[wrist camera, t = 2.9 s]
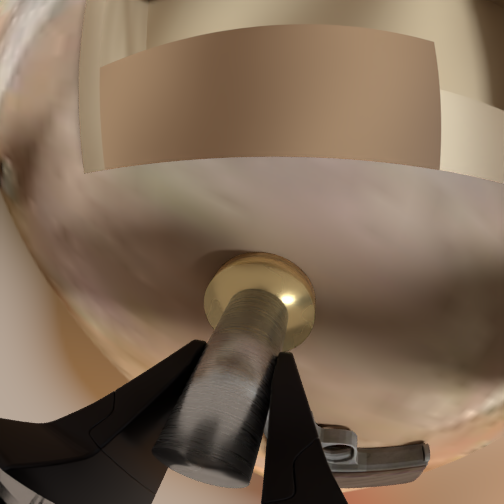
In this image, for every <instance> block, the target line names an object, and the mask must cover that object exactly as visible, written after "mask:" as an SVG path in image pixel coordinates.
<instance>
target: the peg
mask: <svg viewBox="0 0 504 504" xmlns="http://www.w3.org/2000/svg"><path fill="white" fill-rule="evenodd" d="M315 300H316V299H315V292H314V289H313V286H312V284H311V282H310V280H309V278H308V277H307V275H306V274H305V273H304V272H303V271H302V270H301V269H300V268H299V267H298V266H297V265H295V264H294V263H292V262H291V261H289V260H287V259H285V258H283V257H281V256H278V255H275V254H271V253H264V252H251V253H245V254H241V255H238V256H236V257H234V258H232V259H230V260H228V261H227V262H226V263H225V264H223V266H222V267H221V268H220V269H219V270H218V272H217V273H216V275H215V276H214V278H213V279H212V280H211V282H210V283H209V285H208V287H207V289H206V292H205V296H204V309H205V313H206V316H207V319H208V321H209V323H210V325H211V326H212V328H213V329H214V332H213V334H212V336H211V338H210V340H209V341H208V343H207V345H206V347H205V349H204V351H203V353H202V355H201V357H200V359H199V361H198V363H197V364H196V366H195V368H194V370H193V372H192V374H191V376H190V378H189V380H188V382H187V384H186V386H185V387H184V389H183V391H182V393H181V395H180V397H179V399H178V401H177V403H176V405H175V407H174V408H173V410H172V412H171V414H170V416H169V418H168V420H167V422H166V424H165V426H164V428H163V429H162V431H161V433H160V435H159V437H158V439H157V441H156V443H155V445H154V447H153V449H152V454H153V455H154V457H155V458H156V459H157V460H159V461H160V462H161V463H162V464H164V465H165V466H167V467H169V468H170V469H172V470H174V471H176V472H178V473H180V474H182V475H184V476H186V477H189V478H192V479H194V480H197V481H200V482H203V483H207V484H210V485H215V486H220V487H226V488H244V487H247V486H248V485H249V483H250V480H251V476H252V473H253V469H254V466H255V462H256V458H257V455H258V451H259V447H260V443H261V440H262V436H263V432H264V428H265V424H266V420H267V416H268V411H269V406H270V391H271V381H272V376H273V373H274V369H275V366H276V362H277V358H278V354H279V352H286V351H289V350H291V349H293V348H295V347H297V346H298V345H300V344H301V343H302V342H303V341H304V340H305V339H306V338H307V337H308V336H309V334H310V332H311V330H312V328H313V325H314V320H315Z"/></svg>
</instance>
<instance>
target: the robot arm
mask: <svg viewBox="0 0 504 504" xmlns="http://www.w3.org/2000/svg"><path fill="white" fill-rule="evenodd" d="M206 345H207V343H206V342H205V341H201V340H193V341H191V342H190V343H188V344H187V345H185V346H184V347H182V348H181V349H179V350H178V351H176V352H175V353H173V354H172V355H170V356H169V357H167V358H166V359H164V360H163V361H161V362H159V363H158V364H156V365H155V366H153V367H152V368H150V369H149V370H147V371H145V372H144V373H142V374H141V375H139V376H138V377H136V378H134V379H133V380H131V381H130V382H128V383H126V384H125V385H123V386H122V387H120V388H118V389H117V390H116V391H113V392H112V393H110V394H108V395H107V396H105V397H103V398H102V399H100V400H98V401H96V402H95V403H93V404H91V405H89V406H87V407H84V408H82V409H80V410H78V411H76V412H74V413H71V414H69V415H67V416H65V417H62V418H60V419H58V420H55V421H52V422H48V423H29V422H21V421H15V420H9V419H2V418H0V504H151V503H152V501H153V499H154V497H155V494H156V493H157V490H158V488H159V486H160V484H161V482H162V480H163V478H164V475H165V473H166V471H167V469H168V467H167V466H165V465H164V464H162V463H161V462H160V461H159V460H157V459H156V458H155V457H154V455H153V454H152V449H153V447H154V445H155V443H156V441H157V439H158V437H159V435H160V433H161V431H162V429H163V428H164V426H165V424H166V422H167V420H168V418H169V416H170V414H171V412H172V410H173V408H174V407H175V405H176V403H177V401H178V399H179V397H180V395H181V393H182V391H183V389H184V387H185V386H186V384H187V382H188V380H189V378H190V376H191V374H192V372H193V370H194V368H195V366H196V364H197V363H198V361H199V359H200V357H201V355H202V353H203V351H204V349H205V347H206ZM261 504H348V503H347V501H346V499H345V497H344V495H343V493H342V491H341V489H340V487H339V485H338V483H337V481H336V479H335V477H334V475H333V473H332V471H331V469H330V466H329V464H328V462H327V459H326V456H325V453H324V450H323V448H322V444H321V441H320V439H319V435H318V432H317V429H316V426H315V423H314V419H313V416H312V413H311V410H310V407H309V404H308V401H307V397H306V394H305V391H304V388H303V385H302V382H301V379H300V375H299V372H298V369H297V366H296V363H295V360H294V357H293V354H292V353H290V352H279V354H278V358H277V362H276V366H275V369H274V373H273V376H272V381H271V391H270V406H269V420H268V433H267V446H266V457H265V469H264V480H263V490H262V500H261Z"/></svg>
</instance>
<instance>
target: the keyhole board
mask: <svg viewBox="0 0 504 504" xmlns="http://www.w3.org/2000/svg"><path fill="white" fill-rule="evenodd" d="M79 124H80V139H81V150H82V160H83V168H84V174H85V173H90V172H96V171H102V170H108V169H114V168H121V167H127V166H135V165H143V164H151V163H160V162H170V161H180V160H193V159H207V158H227V157H268V156H279V157H320V158H339V159H353V160H366V161H376V162H386V163H394V164H402V165H410V166H417V167H424V168H430V169H436V170H442V171H448V172H453V173H458V174H463V175H468V176H473V177H477V178H482V179H486V180H490V181H494V182H498V183H502V184H504V0H87V1H86V7H85V13H84V20H83V27H82V36H81V46H80V60H79Z"/></svg>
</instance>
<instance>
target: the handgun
mask: <svg viewBox="0 0 504 504" xmlns="http://www.w3.org/2000/svg"><path fill="white" fill-rule="evenodd" d="M311 413H312V411H311ZM312 416H313V414H312ZM313 419H314V418H313ZM268 420H269V411H268V416H267V420H266V424H265V428H264V434H265V436H266V438H267V433H268ZM314 423H315V421H314ZM315 426H316V429H317V432H318V435H319V439H320V441H321V444H322V448H323V450H324V453H325V456H326V459H327V462H328V464H329V466H330V469H331V471H332V473H333V475H334V477H335V479H336V481H337V483H338V485H339V487H340V488H362V487H377V486H388V485H396V484H403V483H408V482H412V481H414V480H416V478H418V477H419V476H420V475H421V473H422V472H423V470H424V469H425V467H426V466H427V465H428V461H429V460H430V449H429V445H428V444H425V443H423V444H416V445H408V446H398V447H387V448H369V449H366V448H357V436H356V434H355V433H354V432H352V431H349V430H343V429H325V428H321V427H319V426H318V425H317V424H316V423H315ZM337 444H341V445H348V446H351V448H338V447H331V446H330V445H337Z"/></svg>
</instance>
